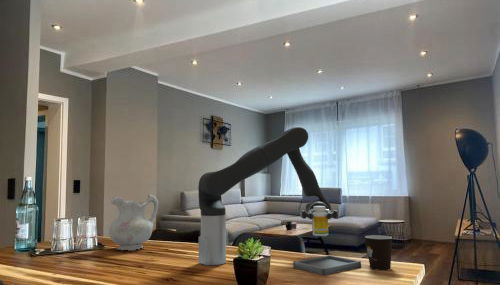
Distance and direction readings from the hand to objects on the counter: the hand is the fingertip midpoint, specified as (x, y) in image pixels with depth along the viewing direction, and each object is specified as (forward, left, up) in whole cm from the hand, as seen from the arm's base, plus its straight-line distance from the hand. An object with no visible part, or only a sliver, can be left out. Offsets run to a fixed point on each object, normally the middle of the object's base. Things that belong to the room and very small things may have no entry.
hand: (320, 216), depth 120 cm
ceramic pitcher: (-35, +85, -18) cm, 93 cm away
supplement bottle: (+2, +2, -7) cm, 7 cm away
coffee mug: (+18, -9, -18) cm, 27 cm away
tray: (+4, +2, -17) cm, 18 cm away
